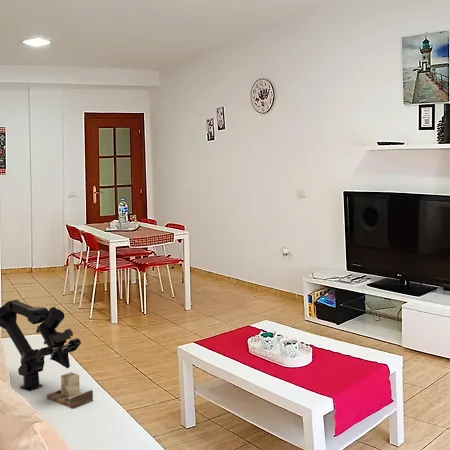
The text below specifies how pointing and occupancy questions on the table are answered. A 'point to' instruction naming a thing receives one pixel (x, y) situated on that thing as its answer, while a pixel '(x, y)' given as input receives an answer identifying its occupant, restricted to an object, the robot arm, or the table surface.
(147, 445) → the table surface
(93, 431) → the table surface
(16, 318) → the robot arm
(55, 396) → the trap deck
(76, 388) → the birch block
